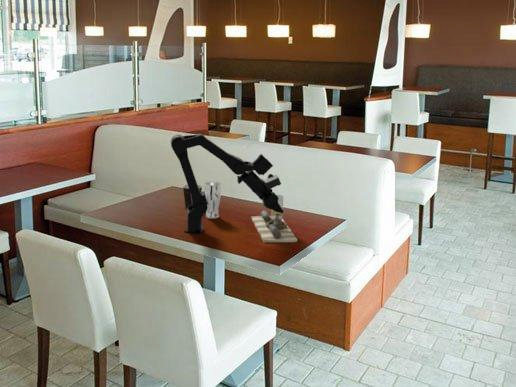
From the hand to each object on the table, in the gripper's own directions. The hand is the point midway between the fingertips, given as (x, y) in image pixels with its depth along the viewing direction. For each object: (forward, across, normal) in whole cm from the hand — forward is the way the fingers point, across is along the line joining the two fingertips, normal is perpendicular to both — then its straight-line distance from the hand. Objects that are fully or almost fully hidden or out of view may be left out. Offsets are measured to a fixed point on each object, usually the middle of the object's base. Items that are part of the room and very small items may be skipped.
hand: (280, 209), depth 236 cm
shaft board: (+4, 0, +8) cm, 9 cm away
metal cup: (+4, 0, +6) cm, 8 cm away
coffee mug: (-18, +33, +31) cm, 49 cm away
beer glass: (-12, +19, +25) cm, 33 cm away
